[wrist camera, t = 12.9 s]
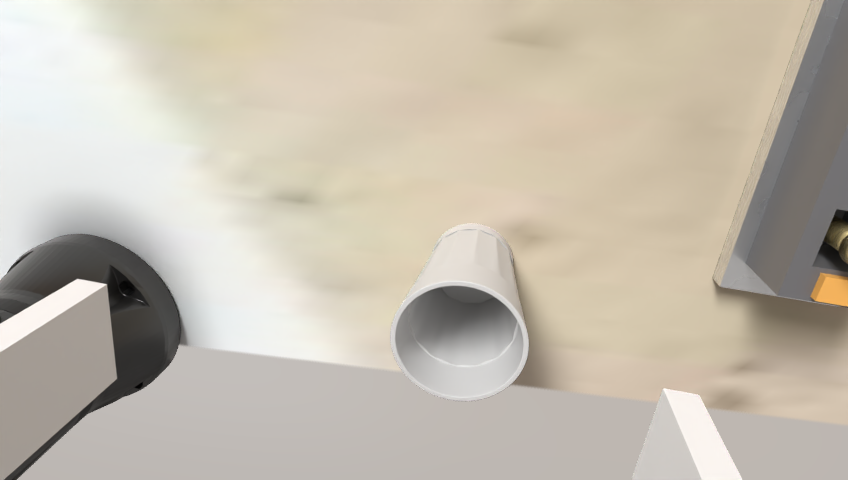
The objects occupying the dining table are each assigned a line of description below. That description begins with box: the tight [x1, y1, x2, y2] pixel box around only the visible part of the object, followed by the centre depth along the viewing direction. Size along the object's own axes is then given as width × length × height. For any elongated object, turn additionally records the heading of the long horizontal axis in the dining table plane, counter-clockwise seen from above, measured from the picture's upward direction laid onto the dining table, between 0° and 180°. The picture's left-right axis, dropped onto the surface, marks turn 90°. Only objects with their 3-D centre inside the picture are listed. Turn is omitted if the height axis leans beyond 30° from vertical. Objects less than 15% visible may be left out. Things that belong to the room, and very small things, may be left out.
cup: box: [390, 223, 529, 401], centre depth 37 cm, size 8×8×12 cm
